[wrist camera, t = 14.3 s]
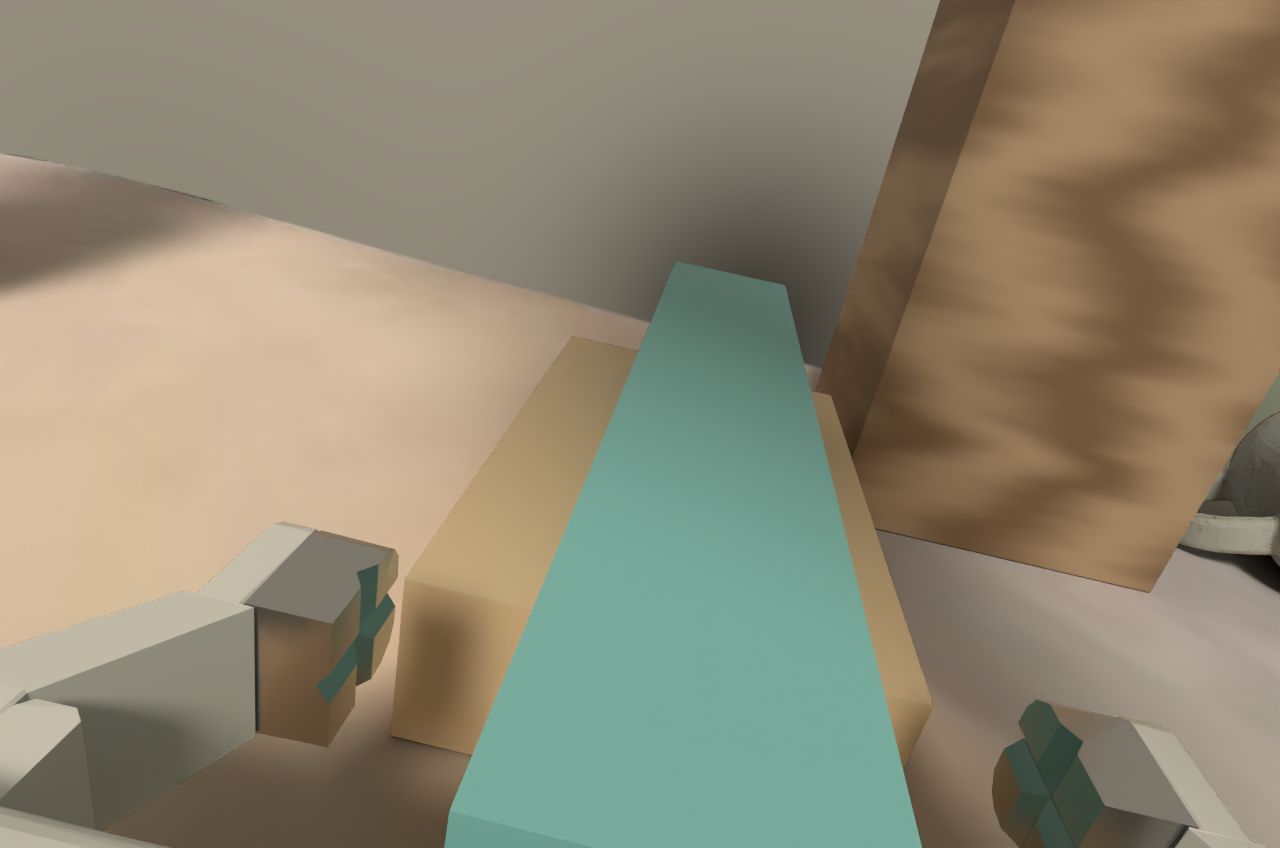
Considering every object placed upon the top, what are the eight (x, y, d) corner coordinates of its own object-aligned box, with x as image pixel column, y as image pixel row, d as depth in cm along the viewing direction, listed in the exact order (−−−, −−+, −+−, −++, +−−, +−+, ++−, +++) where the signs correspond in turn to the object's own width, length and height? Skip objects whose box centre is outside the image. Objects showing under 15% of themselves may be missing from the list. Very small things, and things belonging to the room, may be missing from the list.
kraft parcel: (390, 735, 16) (404, 574, 14) (556, 429, 30) (572, 333, 29) (864, 851, 15) (935, 701, 14) (800, 486, 30) (831, 393, 28)
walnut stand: (831, 517, 28) (1164, -420, 18) (807, 416, 37) (1017, -242, 27) (1150, 592, 28) (1680, -315, 17) (1047, 471, 37) (1354, -172, 27)
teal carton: (410, 1082, 7) (450, 810, 6) (653, 363, 27) (676, 260, 26) (798, 1186, 7) (943, 936, 6) (755, 387, 27) (785, 285, 26)
